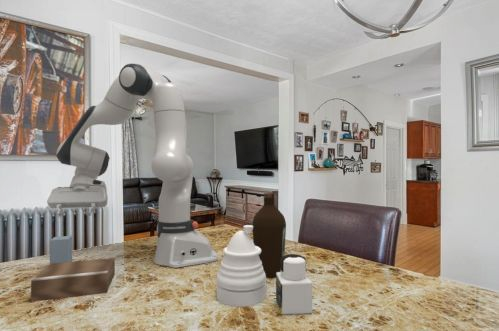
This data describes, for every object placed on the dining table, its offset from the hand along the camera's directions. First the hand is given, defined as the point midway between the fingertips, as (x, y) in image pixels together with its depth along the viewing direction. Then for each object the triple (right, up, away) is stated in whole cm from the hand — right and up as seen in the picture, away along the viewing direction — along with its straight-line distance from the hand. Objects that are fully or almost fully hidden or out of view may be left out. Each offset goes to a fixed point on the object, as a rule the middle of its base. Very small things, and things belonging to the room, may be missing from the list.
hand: (74, 215), depth 107 cm
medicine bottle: (+75, -15, -38) cm, 86 cm away
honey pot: (+63, -15, -32) cm, 72 cm away
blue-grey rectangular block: (+3, -15, -12) cm, 20 cm away
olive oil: (+71, -16, -16) cm, 75 cm away
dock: (+17, -15, -27) cm, 35 cm away
